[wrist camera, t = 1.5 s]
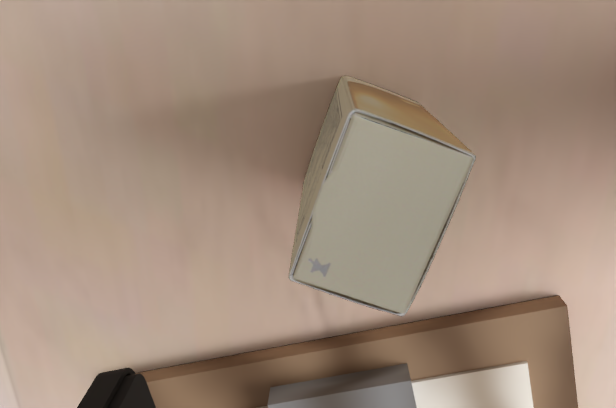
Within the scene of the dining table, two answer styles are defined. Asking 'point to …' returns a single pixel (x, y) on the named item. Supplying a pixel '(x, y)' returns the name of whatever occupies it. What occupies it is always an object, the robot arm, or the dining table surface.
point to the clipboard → (396, 367)
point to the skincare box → (376, 198)
